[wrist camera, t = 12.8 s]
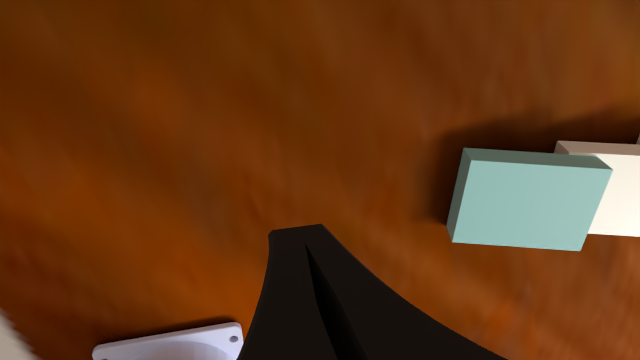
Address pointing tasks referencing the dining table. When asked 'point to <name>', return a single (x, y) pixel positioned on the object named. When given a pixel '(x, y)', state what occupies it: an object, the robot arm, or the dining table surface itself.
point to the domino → (613, 186)
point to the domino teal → (526, 198)
